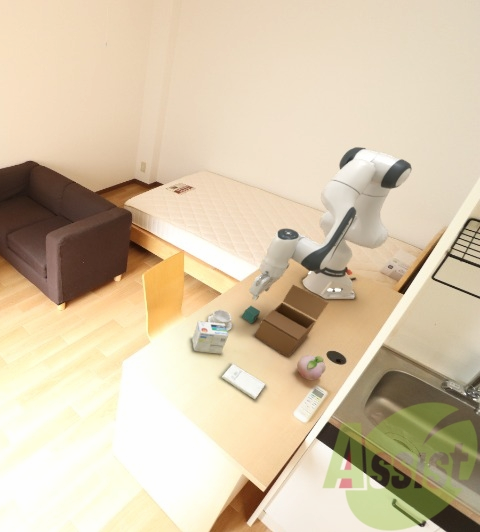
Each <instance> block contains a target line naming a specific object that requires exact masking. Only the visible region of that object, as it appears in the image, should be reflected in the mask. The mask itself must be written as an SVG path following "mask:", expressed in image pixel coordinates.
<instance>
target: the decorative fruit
mask: <svg viewBox="0 0 480 532" xmlns="http://www.w3.org/2000/svg"><path fill="white" fill-rule="evenodd" d="M296 363H297V364H296V367H297V371H298V373H299V375H300V376H301V377H303V378H304V379H306V380H310V381H314V380H318V379H320V378H321V377H322V375H323V374H324V372H326V364H325V362H324V357H323V356H319V355H317V356H315V355H311V354H306V355H303V356H302V357H300V358H299V359H298V361H297V362H296Z"/></svg>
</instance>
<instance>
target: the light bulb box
mask: <svg viewBox="0 0 480 532" xmlns="http://www.w3.org/2000/svg"><path fill="white" fill-rule="evenodd" d="M228 338H229V333H228V331H227V330H226V327H225V323H212V322H208V321H201V320H198V321H197V322H196V326H195V329H194V332H193V336H192V339H191V342H192V346H193V351H194V352H200V353H208V354H209V353H210V354H217V355H218V354H220V355H221V354H222V353H223V350H224V347H225V345H226V343H227V340H228Z"/></svg>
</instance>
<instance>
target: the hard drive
mask: <svg viewBox="0 0 480 532" xmlns="http://www.w3.org/2000/svg"><path fill="white" fill-rule="evenodd" d="M221 379H223V380H224V381H226V382H228V383H229V384H231V385H232V386H234V387H235V388H236V389H238V390H239V391H241V392H242V393H244V394H245V395H247V396H249V397H250V398H251V399H253V400H256V399H257V398H258V396H259V395H260V393H261V392H262V391H263V389H264V388H265V386H266V383H265V382H263V381H261V380H260V379H258V378H257V377H255V376H254V375H252V374H251V373H249V372H247V371H246V370H244V369H242V368H240V367H239V366H238V365H236V364H234V363H232V364H231V365H230V366H229V367H228V369H227V370H226V371H225V372H224V373H223V374H222V377H221Z"/></svg>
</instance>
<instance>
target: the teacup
mask: <svg viewBox="0 0 480 532" xmlns="http://www.w3.org/2000/svg"><path fill="white" fill-rule="evenodd" d="M231 321H232V314H230V312H229V311H227V310H224V309H216V310H214V311H213V313H212V314H211V315H209V316H208V318H207V322H212V323H225V327H226V330H227V332H228V331H230V330H231V329H232V328H233V323H232V322H231Z"/></svg>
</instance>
